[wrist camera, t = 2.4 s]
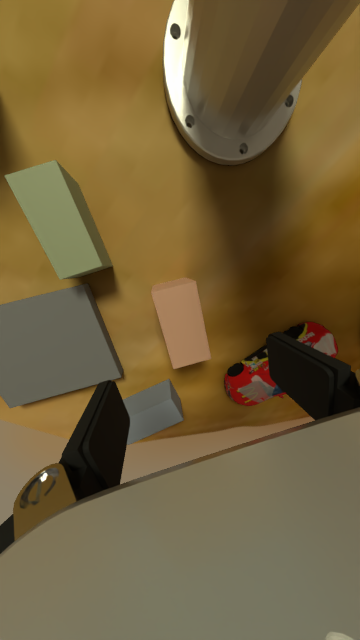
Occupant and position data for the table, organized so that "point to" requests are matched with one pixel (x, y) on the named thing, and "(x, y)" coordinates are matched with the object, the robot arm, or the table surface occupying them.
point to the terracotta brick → (181, 321)
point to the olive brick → (60, 219)
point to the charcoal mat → (53, 346)
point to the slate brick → (153, 410)
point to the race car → (254, 377)
